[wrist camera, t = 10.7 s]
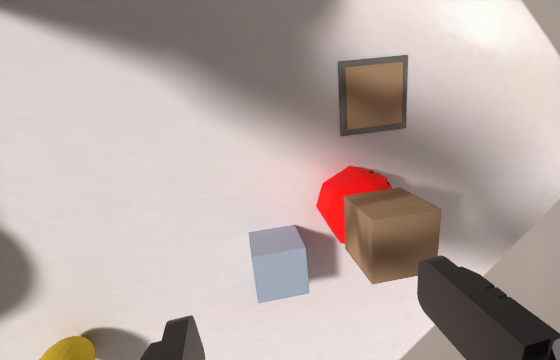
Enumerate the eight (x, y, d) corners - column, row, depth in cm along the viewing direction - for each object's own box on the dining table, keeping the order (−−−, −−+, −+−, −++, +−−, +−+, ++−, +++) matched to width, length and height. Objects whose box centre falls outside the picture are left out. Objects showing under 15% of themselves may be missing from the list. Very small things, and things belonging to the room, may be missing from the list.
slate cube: (248, 232, 36) (251, 257, 30) (294, 224, 36) (305, 247, 31) (254, 272, 37) (258, 303, 32) (298, 264, 38) (309, 293, 32)
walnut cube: (343, 195, 28) (372, 220, 22) (399, 187, 28) (441, 209, 23) (345, 248, 29) (372, 284, 24) (397, 239, 30) (436, 272, 25)
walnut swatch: (337, 61, 31) (339, 61, 31) (406, 55, 33) (409, 54, 32) (340, 135, 34) (342, 136, 33) (404, 127, 35) (407, 127, 34)
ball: (382, 202, 37) (418, 226, 30) (332, 234, 38) (356, 266, 30) (357, 153, 35) (389, 166, 28) (303, 187, 35) (322, 210, 28)
